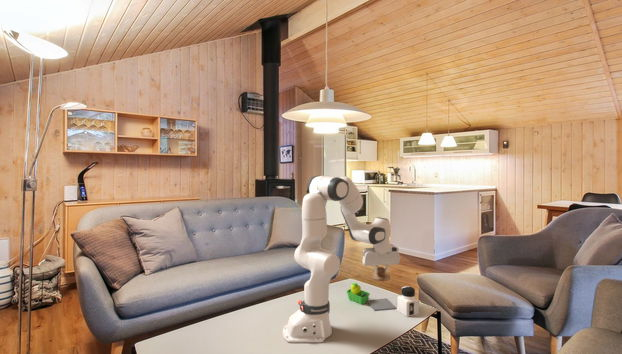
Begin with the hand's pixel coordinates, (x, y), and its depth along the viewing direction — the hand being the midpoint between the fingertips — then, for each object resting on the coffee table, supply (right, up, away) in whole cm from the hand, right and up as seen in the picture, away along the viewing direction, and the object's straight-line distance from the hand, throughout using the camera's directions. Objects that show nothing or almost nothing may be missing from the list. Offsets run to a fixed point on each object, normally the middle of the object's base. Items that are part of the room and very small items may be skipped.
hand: (380, 272), depth 176 cm
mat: (0, -18, +1) cm, 18 cm away
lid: (0, -3, 0) cm, 3 cm away
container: (+12, -18, -8) cm, 23 cm away
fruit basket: (-12, -18, +6) cm, 22 cm away
